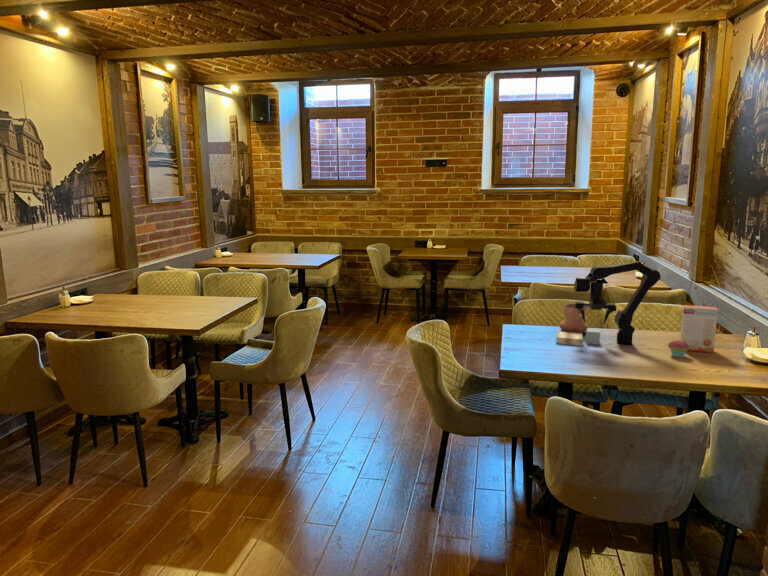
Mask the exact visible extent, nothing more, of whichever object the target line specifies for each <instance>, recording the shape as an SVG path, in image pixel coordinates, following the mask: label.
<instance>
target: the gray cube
mask: <svg viewBox="0 0 768 576" xmlns="http://www.w3.org/2000/svg"><path fill="white" fill-rule="evenodd" d="M600 330H601V329H597V328H588V329H587V331H586V332H585V333H586V335H585V336H586V337H585V343H586V344H591V343H595V344H594V345H600V344H601V343H600V341H601V331H600Z"/></svg>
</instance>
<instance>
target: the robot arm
mask: <svg viewBox="0 0 768 576" xmlns="http://www.w3.org/2000/svg"><path fill="white" fill-rule="evenodd" d="M589 271H590V272H589V273H588V274H587V276H585V277H584V278H579V277H576V278H575V281H574V283H573V291H574V292H575V293H587V292H589V303H584V301H582V300H581V301H578V300H577V301H575V302H574V304H575V309H578V311H580V312H581V314H582V317H583V321H584V323H586V318H585V317H586V314H584V307H587V309H588V308H590V309H591V311H592V310H593V311H594V310H595V311H597V310H598V311H601V310H602V309H605V312H604V317H603V325H605V324H606V322H607V320H608V317H609V316H610V315H611V313H614V312H616V311H617V313H616V314H615V315H614V316H613V317H614V320H613V322H614V324H615V326H617V329H618V330H617V331H618V332H616V342H617V344H618V345H630V346H631V345H632V346H633V335H634V332H635V331H636V330H635V327H634V326H633V325H632V322H633V317H634V314H635V312H636V310H637V309H638V307H639V306H640V304H641V303H642V301H643V300H644V298H645V296H646V295H647V293H648V291H649V290H650V289H651V288H652V287H654V286H655V285H656V284H658V282H659V280H660V279H661V273H660V271H658V270H656V269H653V268H650V267H648V266H646V265H645V264H643V263H642V262H641V261H638V260H634V261H630V262H625V263H618V264H614V265H594V266H592V267H591V269H590V270H589ZM632 271H638V272H639V273H640V274H642V275H641V279H640V283H639V286H638V287H637V289H636V290H635V291H634V293H633V295H632V296H631V298H630V300H629V301H628V303H627V304H626V306H625V307H624V308H623V309H622V310H620V309H618V310H617V305H616V303H611V302H607V300H606V299H603V291H604V284H605V285H606V284H607V285H608V281H607V280H606V278H608V277H610V276H611V275H616V274H622V273H627V272H632Z"/></svg>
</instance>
